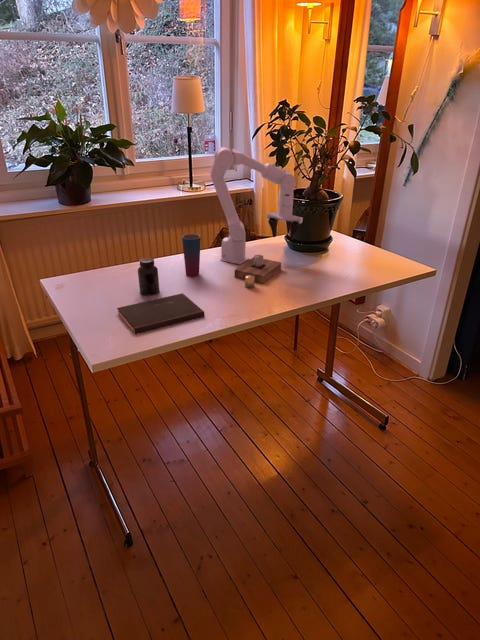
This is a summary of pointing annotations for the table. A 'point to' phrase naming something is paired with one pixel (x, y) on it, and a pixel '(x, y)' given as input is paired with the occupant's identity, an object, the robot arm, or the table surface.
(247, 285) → the short brass peg
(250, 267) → the walnut board
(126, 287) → the table surface
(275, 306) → the table surface
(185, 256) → the cup
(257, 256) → the long steel peg
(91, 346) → the table surface
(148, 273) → the supplement bottle
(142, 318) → the hardcover book
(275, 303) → the table surface
